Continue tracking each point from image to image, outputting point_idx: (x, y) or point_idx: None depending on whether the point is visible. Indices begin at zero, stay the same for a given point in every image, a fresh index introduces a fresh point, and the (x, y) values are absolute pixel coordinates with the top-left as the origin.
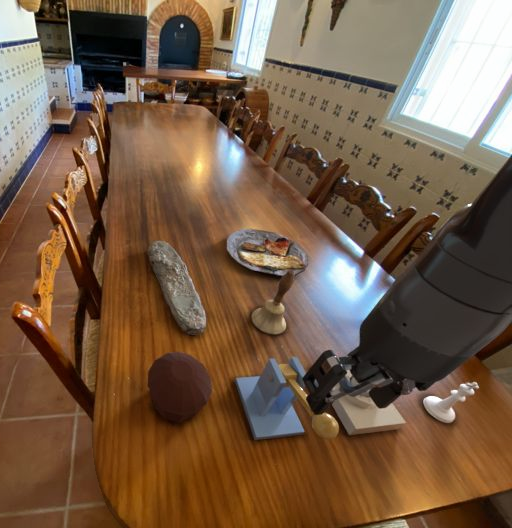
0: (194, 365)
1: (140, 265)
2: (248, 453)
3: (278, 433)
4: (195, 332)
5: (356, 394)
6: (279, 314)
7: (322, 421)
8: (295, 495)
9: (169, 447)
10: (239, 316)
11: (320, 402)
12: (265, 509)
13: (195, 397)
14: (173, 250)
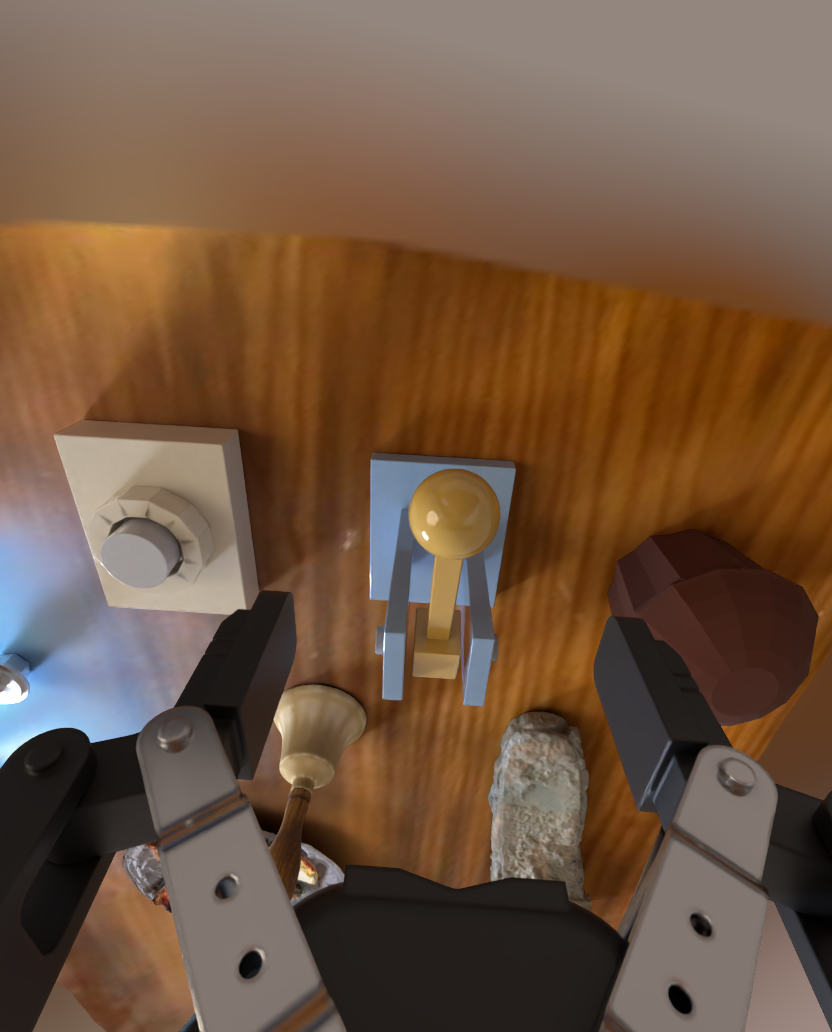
0: None
1: (597, 873)
2: (547, 434)
3: (448, 467)
4: (547, 722)
5: (685, 874)
6: (302, 750)
7: (481, 537)
8: (472, 321)
9: (747, 481)
10: (395, 735)
11: (695, 715)
12: (573, 305)
13: (728, 614)
14: None
